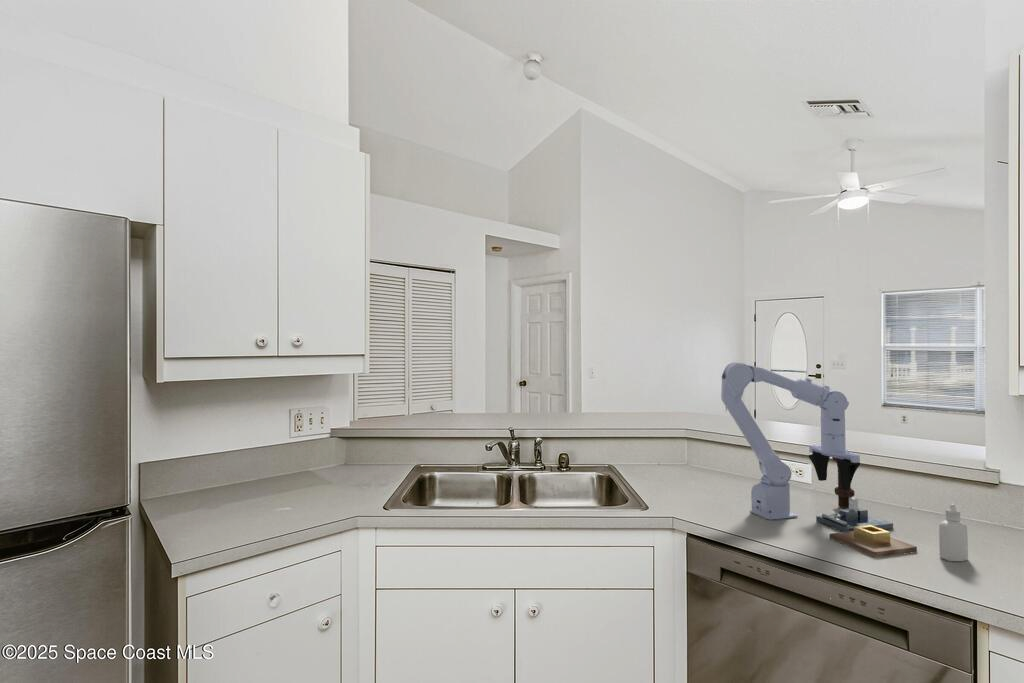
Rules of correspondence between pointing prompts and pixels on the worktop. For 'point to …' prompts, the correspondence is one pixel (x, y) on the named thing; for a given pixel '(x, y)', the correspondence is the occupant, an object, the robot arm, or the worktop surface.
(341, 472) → the worktop surface
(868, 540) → the collar
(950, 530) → the eye dropper bottle
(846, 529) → the vise
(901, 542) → the board
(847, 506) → the bolt
